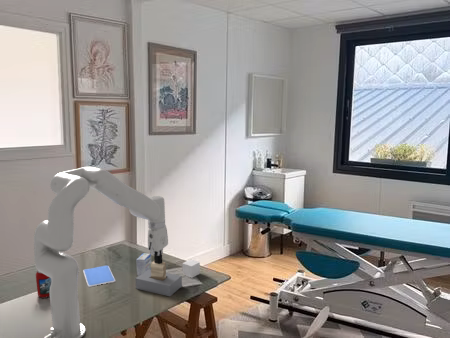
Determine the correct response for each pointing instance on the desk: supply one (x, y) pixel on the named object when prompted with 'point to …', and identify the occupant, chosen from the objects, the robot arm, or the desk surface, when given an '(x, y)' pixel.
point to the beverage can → (43, 284)
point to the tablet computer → (98, 276)
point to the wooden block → (158, 271)
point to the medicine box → (143, 263)
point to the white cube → (191, 268)
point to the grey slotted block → (159, 283)
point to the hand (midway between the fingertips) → (158, 262)
